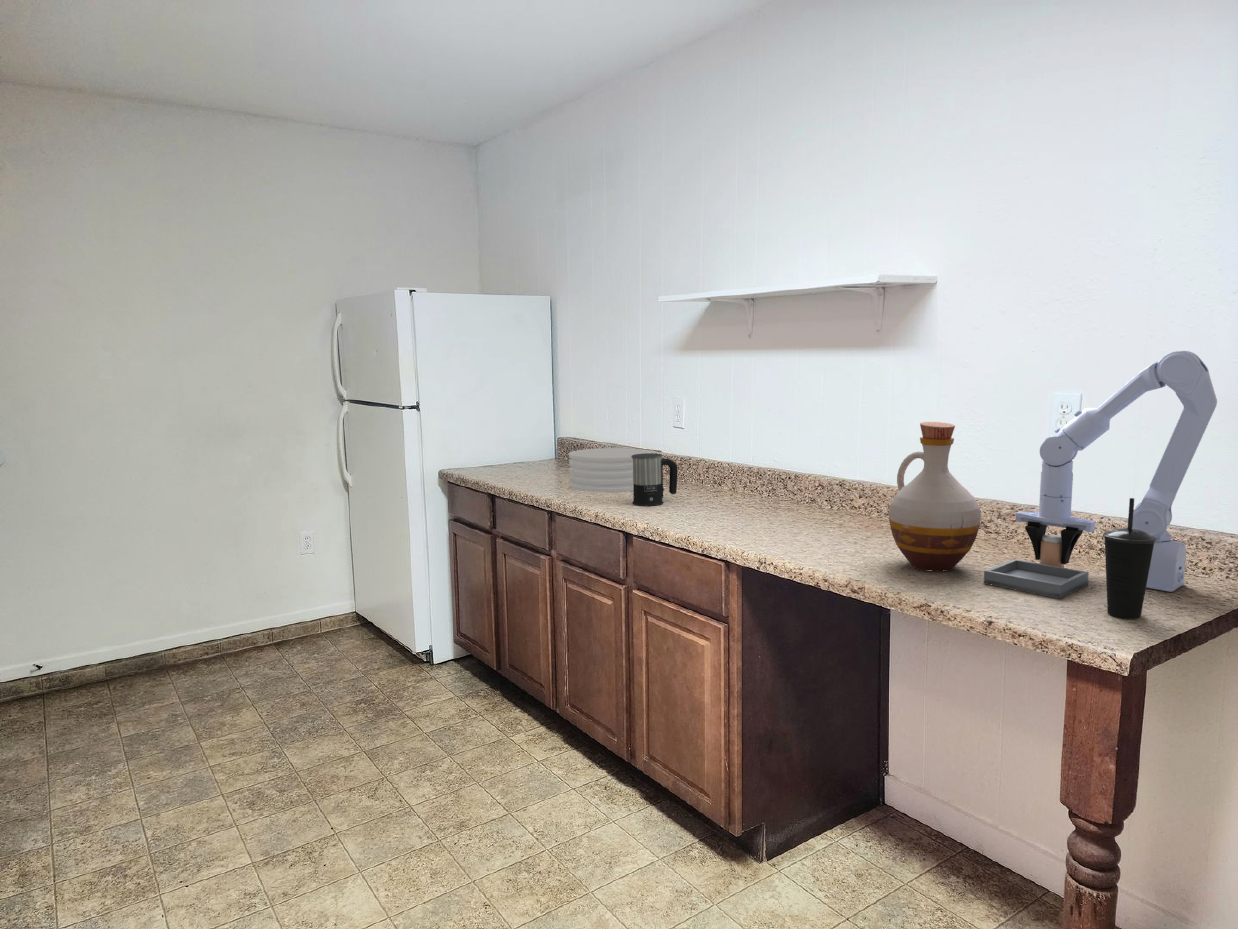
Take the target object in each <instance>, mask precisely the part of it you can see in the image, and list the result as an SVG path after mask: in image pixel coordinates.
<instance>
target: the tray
mask: <svg viewBox="0 0 1238 929" xmlns="http://www.w3.org/2000/svg"><path fill="white" fill-rule="evenodd" d="M984 583H987V584H986V585H989V584H992V585H991V586H994V585H996V586H995V587H999V588H1000V587H1001V588H1005V589H1010V590H1014V589H1016V590H1015V591H1019V590H1020V591H1021V592H1024V593H1030V594H1035V595H1040V596H1045V597H1050V598H1055V599H1062V598H1065V597H1066V596H1068V595H1071V594H1073V593H1075V592H1076V591H1078V590H1080V589H1084V587H1087V586H1088V585H1089V571H1083V570H1078V569H1074V568H1073V569H1072V568H1066V567H1064V568H1062V567H1056V566H1051V565H1045V564H1040V562H1032V561H1027V560H1021V559H1015V558H1014V559H1010V560H1008V561H1006V562H1003V563H1001V564H998V565H995V566H994V567H991V568H987V569H986V570H983V584H984Z"/></svg>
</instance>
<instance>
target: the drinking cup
mask: <svg viewBox="0 0 1238 929" xmlns="http://www.w3.org/2000/svg"><path fill="white" fill-rule="evenodd" d="M1128 501H1129V505H1128V516H1127V521H1128V523H1127V527H1122V528H1115V529H1112V530H1110V531H1106V532H1103V533H1102V538H1103V539H1104V554H1105V558H1104V559H1105V579H1106V580H1105V582H1106V583H1105V586H1106V604H1107V605H1106V606H1107V607H1106V609H1107V610H1106V611H1107V614H1108V615H1109V616H1111V617H1114V618H1117V619H1118V618H1119V619H1124V620H1125V619H1126V620H1138V619H1140V618H1141V617H1142V611H1143V607H1144V600H1145V597H1146V596H1145V595H1146V589H1147V588H1146V585H1147V580H1148V574H1149V569H1150V563H1151V558H1152V552H1153V547H1154V543H1155V542H1156V540H1157V539H1156V537H1154V536H1151V535H1149V534H1148V533H1146V532H1144V531H1141V530H1137V529H1132V526H1133V512H1134V509H1135V498H1134V497H1129V500H1128Z"/></svg>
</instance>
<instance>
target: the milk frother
mask: <svg viewBox="0 0 1238 929" xmlns="http://www.w3.org/2000/svg"><path fill="white" fill-rule="evenodd" d="M662 456H663V454H661V453H653V452H651V453H644V454H635V455H632V456H631V457H632V459H633V491H632V492H633V493H632V494H633V499H632V500H633V501H632V504H633V505H635V506H639V507H640V506H641V507H642V506H643V507H653V506H659V505H663V503H664V501H663V498H664V491H665V488H664V476H663V475H664V472H663V466H668V468H669V482H668V492H669V493H670V494H671V495H676V494H677V489H678V470H679V469H678V465H677V463H676V462H675V461H674V460H673V459H671V458H667V457H665V458H662Z"/></svg>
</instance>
